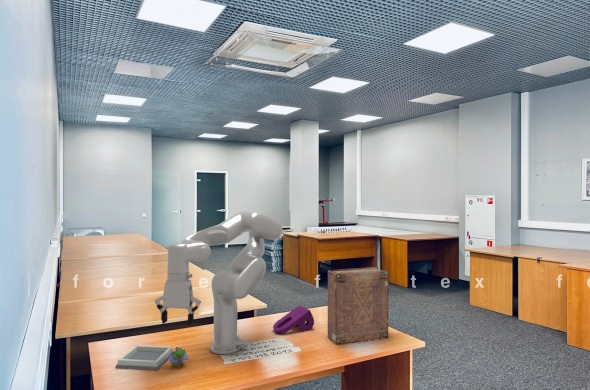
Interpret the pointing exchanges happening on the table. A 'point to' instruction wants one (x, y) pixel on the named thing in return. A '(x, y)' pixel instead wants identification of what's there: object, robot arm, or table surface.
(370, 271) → the book
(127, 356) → the shallow square tray
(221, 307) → the robot arm
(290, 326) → the mounting bracket
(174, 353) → the geometric puzzle
